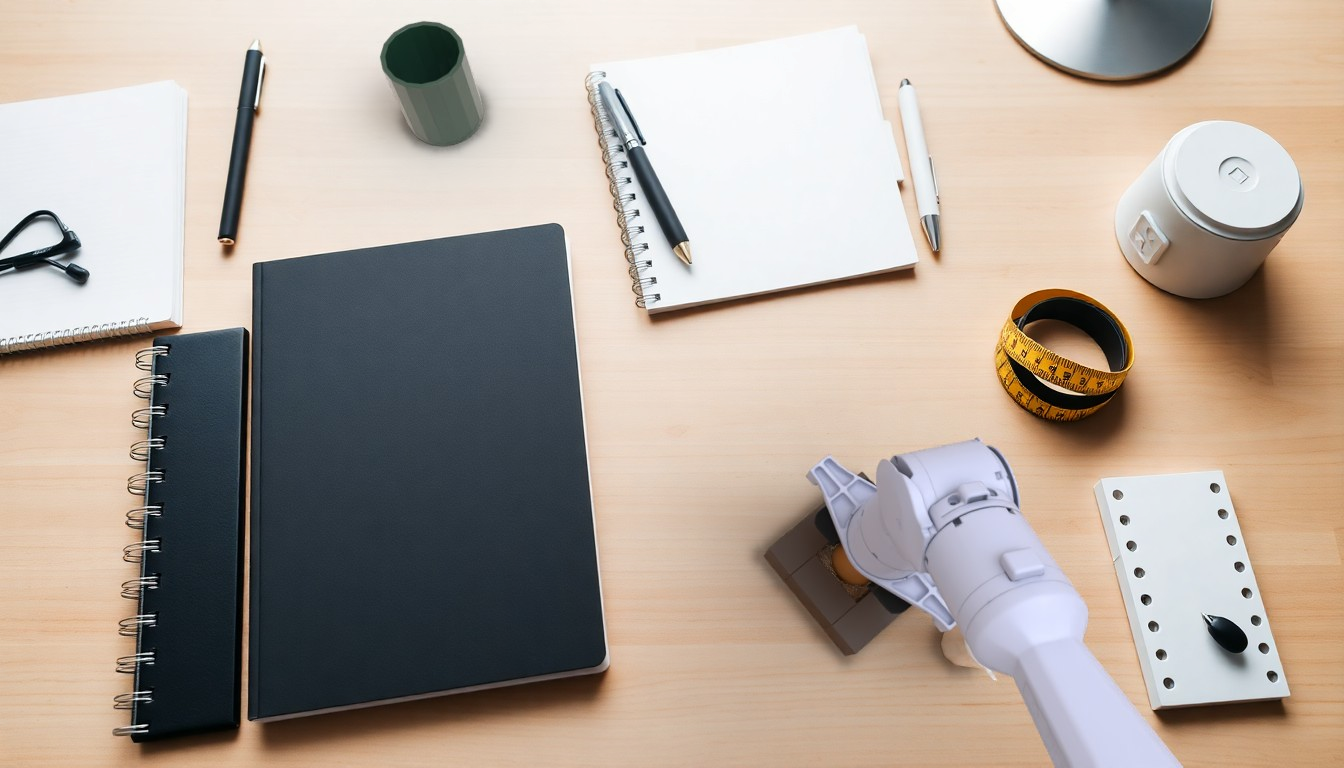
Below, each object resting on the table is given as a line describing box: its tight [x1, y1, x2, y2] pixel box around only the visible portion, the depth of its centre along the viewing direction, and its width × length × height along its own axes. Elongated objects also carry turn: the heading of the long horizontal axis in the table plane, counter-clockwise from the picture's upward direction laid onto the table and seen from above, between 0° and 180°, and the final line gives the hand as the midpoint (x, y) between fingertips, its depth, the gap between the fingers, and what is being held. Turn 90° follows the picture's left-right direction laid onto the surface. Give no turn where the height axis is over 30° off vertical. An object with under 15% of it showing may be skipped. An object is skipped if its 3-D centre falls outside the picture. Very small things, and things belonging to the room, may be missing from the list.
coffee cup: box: [379, 20, 484, 147], centre depth 84 cm, size 8×8×9 cm
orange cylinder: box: [830, 542, 872, 587], centre depth 66 cm, size 4×4×8 cm
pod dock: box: [763, 471, 903, 657], centre depth 70 cm, size 11×11×4 cm
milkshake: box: [940, 624, 998, 682], centre depth 65 cm, size 5×5×10 cm
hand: (859, 558), depth 68 cm, fingers closed on orange cylinder, 4 cm apart
